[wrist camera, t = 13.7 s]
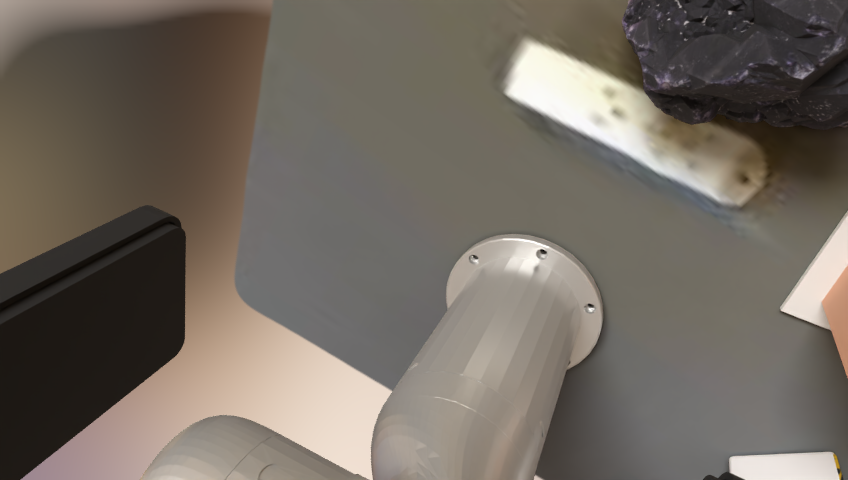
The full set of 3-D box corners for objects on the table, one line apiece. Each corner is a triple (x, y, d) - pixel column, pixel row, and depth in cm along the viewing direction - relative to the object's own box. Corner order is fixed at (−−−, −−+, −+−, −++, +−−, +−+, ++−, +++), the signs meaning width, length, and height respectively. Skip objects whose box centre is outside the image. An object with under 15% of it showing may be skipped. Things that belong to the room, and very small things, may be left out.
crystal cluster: (592, -26, 37) (554, 9, 29) (841, -203, 28) (878, -218, 21) (695, 149, 40) (685, 222, 32) (947, 36, 31) (1014, 99, 24)
